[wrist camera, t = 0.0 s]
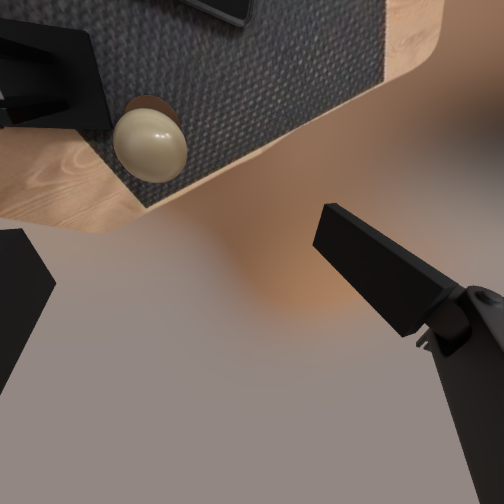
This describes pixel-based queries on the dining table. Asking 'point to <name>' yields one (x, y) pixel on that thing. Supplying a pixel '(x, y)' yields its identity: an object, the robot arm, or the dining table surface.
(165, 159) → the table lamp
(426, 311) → the robot arm
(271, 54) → the dining table surface
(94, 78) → the switch bracket
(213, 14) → the phone
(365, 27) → the dining table surface
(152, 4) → the dining table surface
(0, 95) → the switch lever
